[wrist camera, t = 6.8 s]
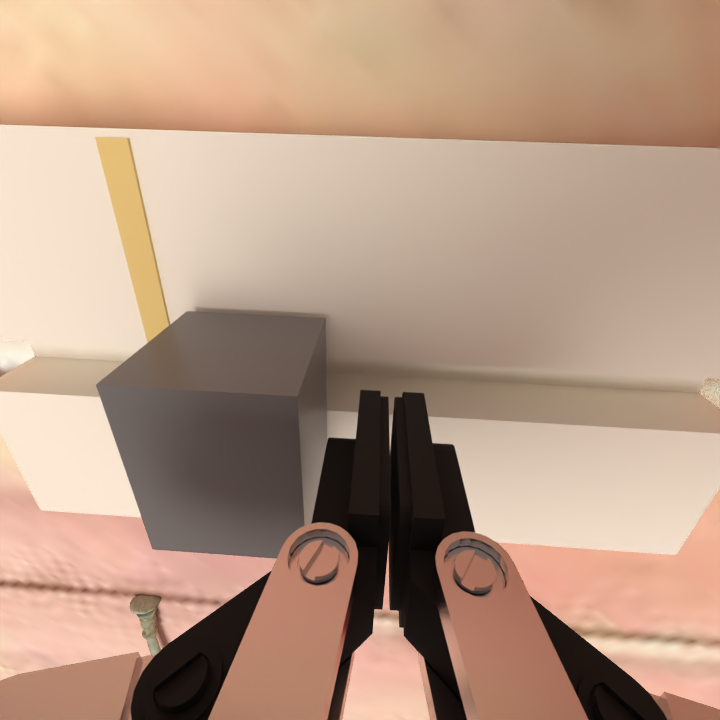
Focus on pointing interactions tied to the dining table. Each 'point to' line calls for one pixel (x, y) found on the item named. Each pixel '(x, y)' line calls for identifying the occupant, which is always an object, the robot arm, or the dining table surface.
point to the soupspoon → (147, 619)
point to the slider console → (388, 305)
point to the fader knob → (223, 430)
